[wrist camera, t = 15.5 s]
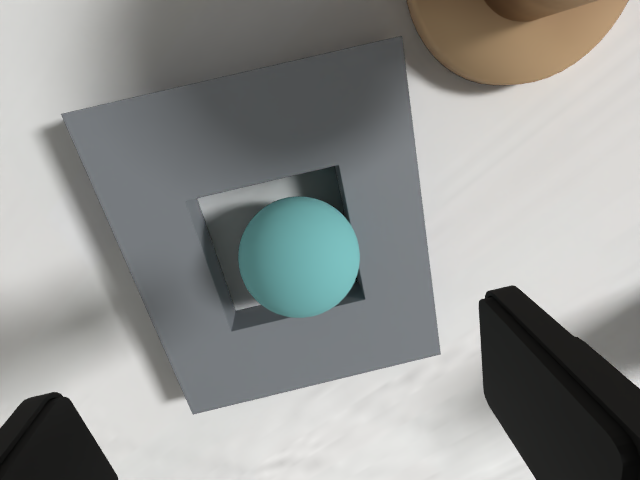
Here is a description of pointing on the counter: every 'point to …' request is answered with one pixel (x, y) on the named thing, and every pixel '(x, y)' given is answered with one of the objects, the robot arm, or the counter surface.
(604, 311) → the counter surface
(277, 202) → the teal ball
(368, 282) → the square hole board
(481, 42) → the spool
